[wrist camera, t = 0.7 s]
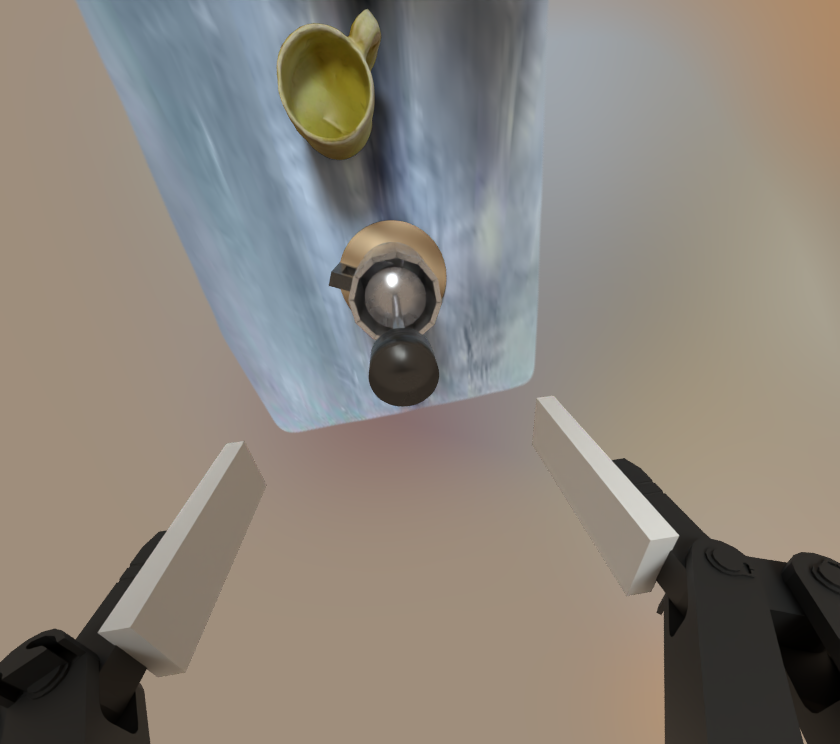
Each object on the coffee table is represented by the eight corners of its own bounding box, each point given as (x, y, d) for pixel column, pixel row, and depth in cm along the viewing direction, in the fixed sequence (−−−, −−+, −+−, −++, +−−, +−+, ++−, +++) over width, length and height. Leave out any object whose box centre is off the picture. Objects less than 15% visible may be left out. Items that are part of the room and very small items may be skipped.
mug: (338, 196, 38) (316, 147, 28) (283, 125, 37) (239, 49, 27) (412, 133, 38) (416, 62, 28) (360, 60, 37) (344, -42, 27)
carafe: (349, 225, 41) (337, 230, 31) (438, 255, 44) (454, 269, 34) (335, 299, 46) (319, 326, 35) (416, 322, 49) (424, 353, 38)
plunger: (373, 257, 34) (360, 307, 17) (433, 276, 36) (478, 340, 18) (359, 317, 37) (335, 411, 20) (414, 332, 39) (438, 432, 21)
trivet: (352, 203, 40) (351, 203, 40) (461, 242, 44) (462, 242, 44) (330, 314, 47) (329, 315, 47) (426, 340, 51) (426, 341, 50)
